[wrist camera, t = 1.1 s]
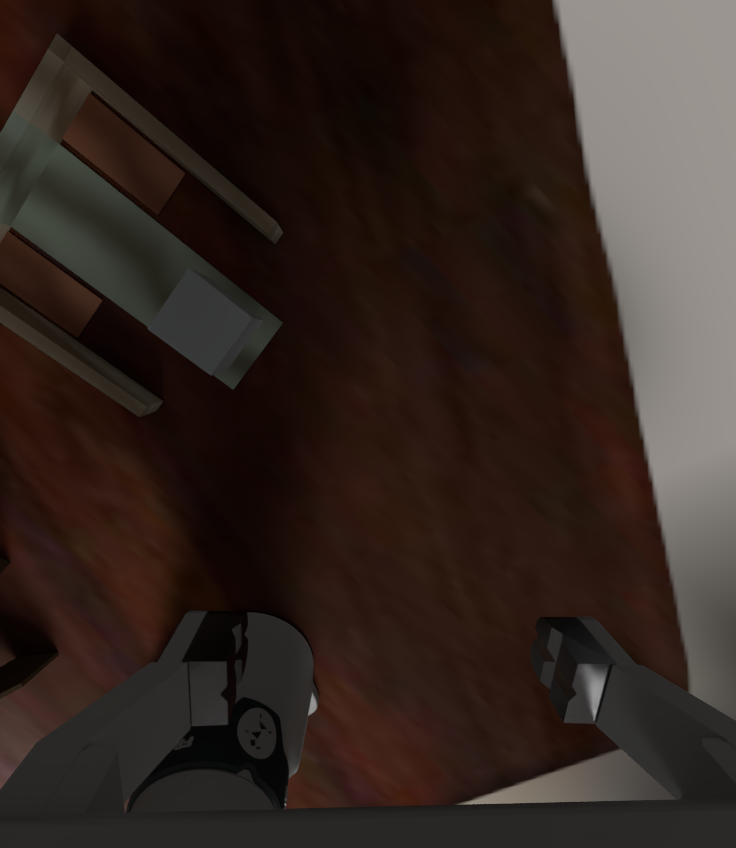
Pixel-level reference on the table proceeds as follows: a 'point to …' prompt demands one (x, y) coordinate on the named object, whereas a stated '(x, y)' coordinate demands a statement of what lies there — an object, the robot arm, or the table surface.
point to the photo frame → (21, 664)
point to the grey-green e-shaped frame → (100, 220)
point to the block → (204, 323)
